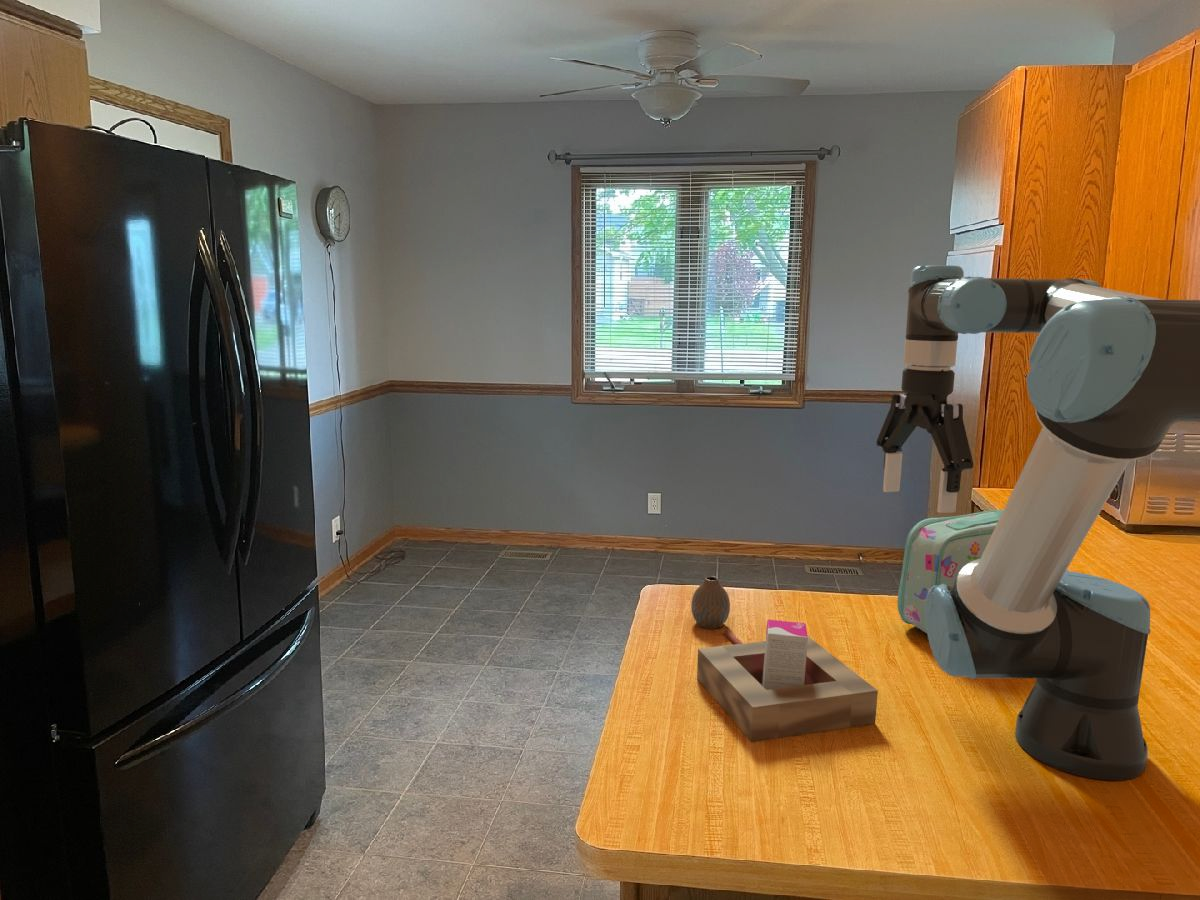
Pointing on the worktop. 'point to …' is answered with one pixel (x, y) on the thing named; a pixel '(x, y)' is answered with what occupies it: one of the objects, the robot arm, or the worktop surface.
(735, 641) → the reddish-brown thin rod
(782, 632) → the supplement box
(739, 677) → the brown wooden square frame
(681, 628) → the worktop surface
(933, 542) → the lunch box
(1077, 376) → the robot arm
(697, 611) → the vase
